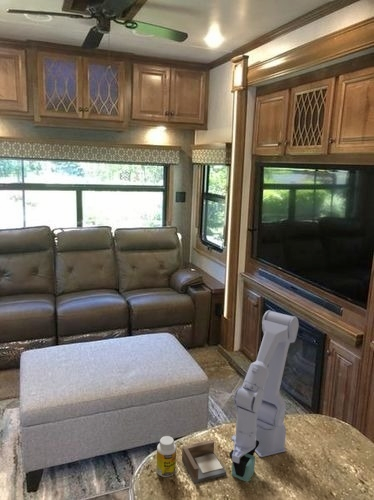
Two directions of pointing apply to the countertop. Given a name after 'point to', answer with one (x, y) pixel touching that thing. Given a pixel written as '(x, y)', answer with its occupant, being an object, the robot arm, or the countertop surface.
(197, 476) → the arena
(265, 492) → the countertop surface
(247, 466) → the teal block
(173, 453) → the supplement bottle
